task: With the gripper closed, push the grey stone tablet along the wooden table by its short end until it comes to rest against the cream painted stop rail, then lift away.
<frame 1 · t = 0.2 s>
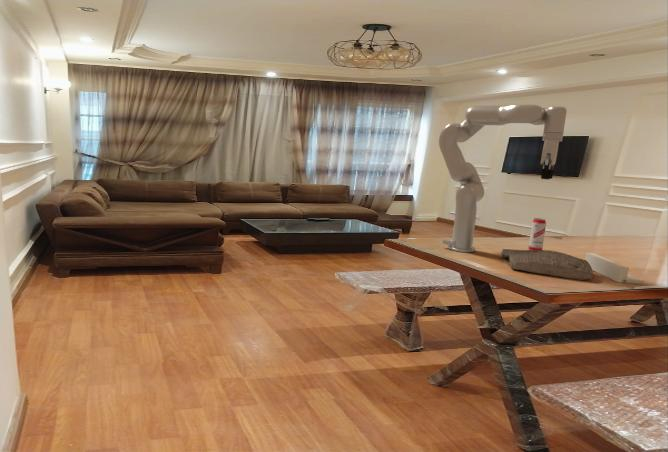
hand: (546, 178, 189), 37 cm above the table, tool pointing down, fingers open, 9 cm apart
beer can: (535, 251, 222), on the table
stop rail: (603, 273, 185), on the table
stone tablet: (547, 271, 185), on the table
roller b: (540, 260, 202), on the table
roller a: (513, 259, 201), on the table
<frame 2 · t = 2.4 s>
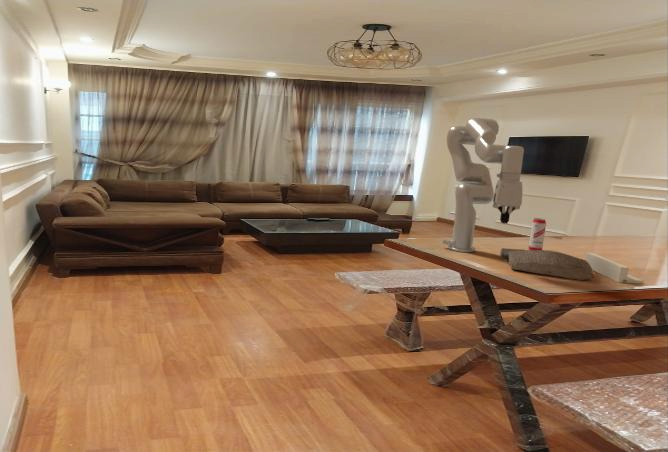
hand: (504, 222, 181), 19 cm above the table, tool pointing down, fingers closed
roller b: (540, 260, 202), on the table, tilted 16°
roller a: (514, 258, 201), on the table, tilted 39°
everything else where it was.
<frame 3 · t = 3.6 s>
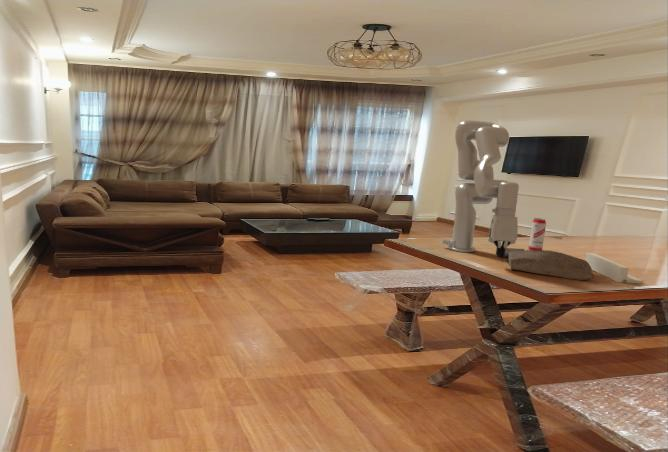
hand: (499, 256, 183), 4 cm above the table, tool pointing down, fingers closed
roller a: (513, 255, 202), point 1 cm above the table, tilted 75°
everything else where it was.
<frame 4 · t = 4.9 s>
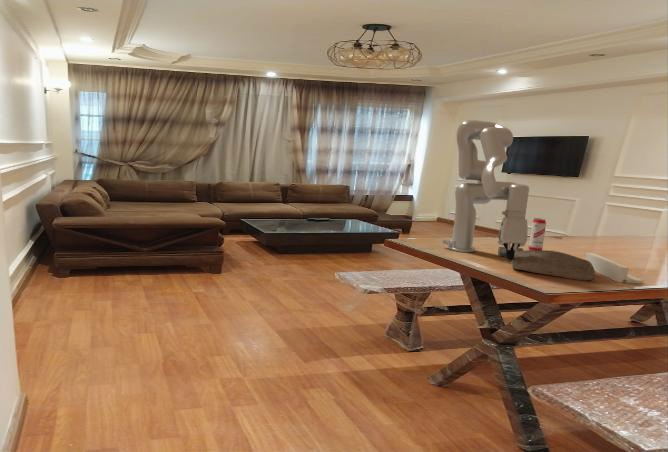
hand: (509, 259, 184), 4 cm above the table, tool pointing down, fingers closed
stone tablet: (549, 272, 184), on the table, touching gripper
roller b: (540, 260, 202), on the table
roller a: (512, 250, 203), point 3 cm above the table, tilted 123°
everything else where it was.
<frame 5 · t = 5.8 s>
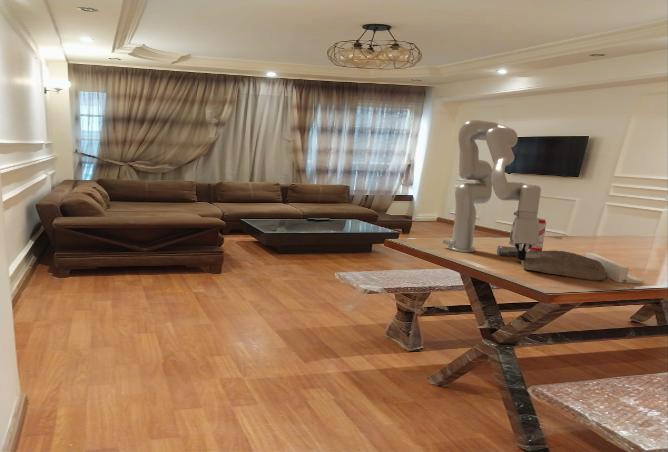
hand: (520, 259, 184), 4 cm above the table, tool pointing down, fingers closed
stone tablet: (559, 272, 185), on the table, touching gripper, stop rail
roller a: (510, 247, 206), point 4 cm above the table, tilted 161°
everything else where it was.
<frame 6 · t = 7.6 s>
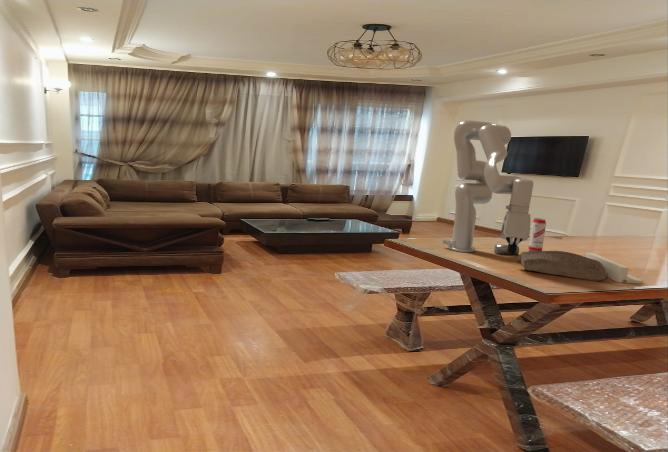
hand: (511, 253, 184), 6 cm above the table, tool pointing down, fingers closed
stone tablet: (559, 272, 185), on the table
roller b: (540, 260, 202), on the table, tilted 6°
roller a: (505, 247, 212), point 3 cm above the table, tilted 106°
everything else where it was.
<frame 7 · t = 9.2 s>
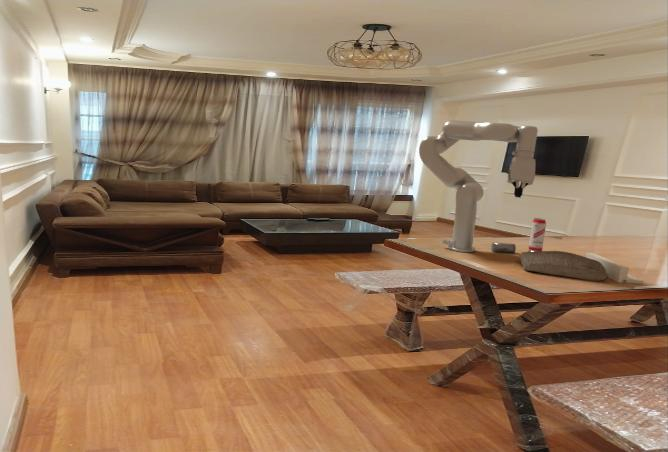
hand: (517, 197, 198), 28 cm above the table, tool pointing down, fingers closed
roller b: (540, 260, 202), on the table, tilted 18°
roller a: (502, 252, 214), on the table
everything else where it was.
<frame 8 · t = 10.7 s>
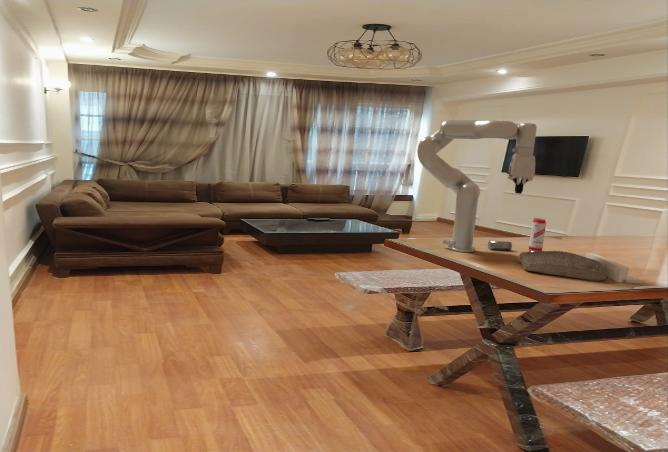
hand: (518, 193, 201), 29 cm above the table, tool pointing down, fingers closed
roller b: (540, 260, 202), on the table, tilted 7°
roller a: (501, 243, 217), point 3 cm above the table, tilted 131°
everything else where it was.
at the end: stone tablet inside the target area (1.6 cm from its centre), on the table; stone tablet moved 4.9 cm from its start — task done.
